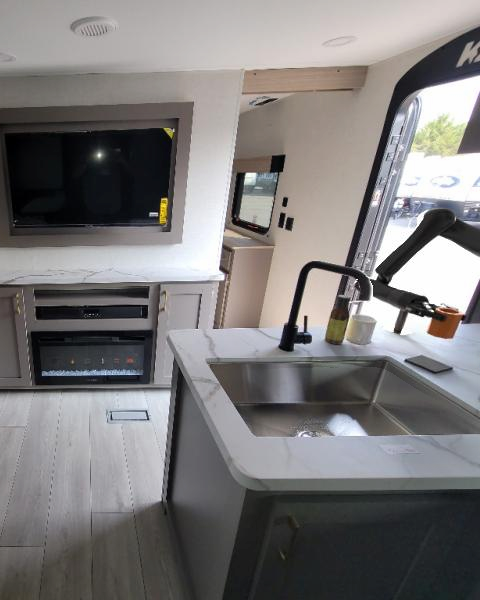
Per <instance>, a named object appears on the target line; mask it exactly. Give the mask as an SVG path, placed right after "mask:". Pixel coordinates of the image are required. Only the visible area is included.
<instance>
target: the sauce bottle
mask: <svg viewBox="0 0 480 600" xmlns="http://www.w3.org/2000/svg"><path fill="white" fill-rule="evenodd" d="M350 301H351V296H349V295H347V294H339V295H337V301H336V304H335V307H333V308H332V309H331V311H330V315H329V317H328V321H327V326H326V329H325V330H326V331H325V333H324V334H325V335H324V341H326V342H327V343H329V344H334V345H341V344H343V343H344V340H345V338H346V337H345V333H346V330H347V327H348V323H349V320H350V316H351V314H350V309H349V304H350Z"/></svg>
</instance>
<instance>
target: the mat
mask: <svg viewBox="0 0 480 600" xmlns="http://www.w3.org/2000/svg"><path fill="white" fill-rule="evenodd" d="M404 362H406V363H408V364H411V365H413V366H415V367H418V368H420V369H422V370H425V371H427V372H429V373H432V374H434V375H436V374H440V373H444V372H447V371H451V370H453V368H454V367H453V366H451V365H448V364H446V363H443V362H440V361H438V360H436V359H433V358H431V357H428V356H425V355H423V354H420V355H416V356H412V357H407V358H404Z"/></svg>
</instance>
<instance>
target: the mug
mask: <svg viewBox="0 0 480 600" xmlns="http://www.w3.org/2000/svg"><path fill="white" fill-rule="evenodd" d="M377 322H378V320H377V319H376V318H375V317H373V316H370V315H365V314H359V313H355V314H354V313H353V314H350V317H349V321H348V325H347V329H346V333H345V337H344V338H345V340H346V341H347V342H349V343H350V344H355V345H359V346H367V345H370V343H371V341H372V338H373V335H374V332H375V328H376V325H377Z"/></svg>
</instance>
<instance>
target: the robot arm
mask: <svg viewBox="0 0 480 600" xmlns="http://www.w3.org/2000/svg"><path fill="white" fill-rule="evenodd" d="M416 224H417V225H416V227H415V228H414V230H413V231H412V232H410V234H409V235H408V236H407V237H406V238H405V240H403V241H402V242H401V243H400V244H399V245H397V246H396V247H395V248H393V250H391V251H390V252H389V253H388V254H387V255H386V256H384V258H383V259H381V261H380V262H379V263H378V264H377V265H376V266H375V267H374V269H373V271H374V273H375V274H376V276H375V279H374V278H372V277H369V276H367V277H368V278H369V279H370V281H371V283H372V285H373V297H372V298H374V299H376V300H378V301H381V302H382V303H385V304H386V305H387V304H388V305H390V306H392V307H393V308H396V309H399V311H400V310H403V311H405V312H408V314H410V315H414V316H418V317H419V318H425V317H426V318H428V319H432V318H433V319H436V320H439V321H441V322H444V321H445V320H446V318H447V316H446V315H443V314H440V313H438V312H434V311H435V309H436V308H440V307H444V308H450V309H455V310H458V311H460V310H459V308H457V307H454V306H452V305H449V304H446V303H443V302H442V303H441V302H440V304H437V303H436V302H433V301H430V300H429V298H428V297H427V296H426V295H424V294H420V293H417V292H414V291H413V290H408V289H404V288H400V287H397V286H395V285H391V283H392V281H393V279H394V277H395V276H396V275H397V274H398V273H399V272H400V271H401V270H402V269H403V268H404V267H406V265H407V264H409V262H410V261H411V260H412V259H414V257H415V256H416V255H417V254H419V253H420V252H421V250H422V249H424V248H425V247H427V246H428V244H430V243H431V242H432V241H433V240H435V239H436V238H437V237H440V238H442V239H445V240H447V241H449V242H451V243H453V244H455V245H456V246H457V247H459V248H461V249H462V250H463V251H465V252H467V253H468V254H470V255H471V256H474V257H476V258H477V259H478V260H480V227H478V226H474V225H472V224H469V223H468V222H466V221H464V220H462V219H460V218H459V217H456V214H455V211H453V210H452V209H450V208H447V207H434V208H429V209H427V210H424V211H423V212H421V213H419V215H418V217H417V221H416ZM353 287H354V289H355V290H356V291H357V292H358V293H360V288H359V284H358V282H357V281H356V280H355V282H354V284H353ZM467 317H468V316H467V314H465V313H463V316H462V318H461V321H460V322H464V321H466V320H467Z"/></svg>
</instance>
